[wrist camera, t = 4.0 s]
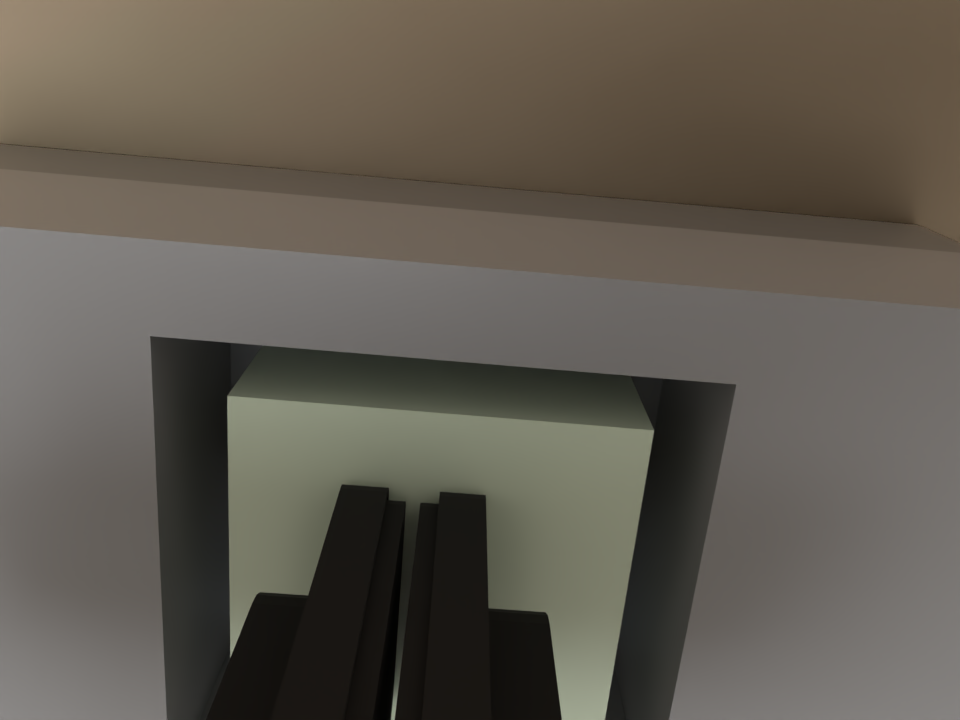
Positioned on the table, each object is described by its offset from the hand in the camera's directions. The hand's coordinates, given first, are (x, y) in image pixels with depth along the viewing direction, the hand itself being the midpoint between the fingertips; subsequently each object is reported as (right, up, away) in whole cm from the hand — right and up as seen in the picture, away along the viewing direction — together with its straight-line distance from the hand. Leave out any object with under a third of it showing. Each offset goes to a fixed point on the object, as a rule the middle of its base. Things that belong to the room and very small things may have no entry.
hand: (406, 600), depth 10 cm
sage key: (0, +1, +2) cm, 3 cm away
